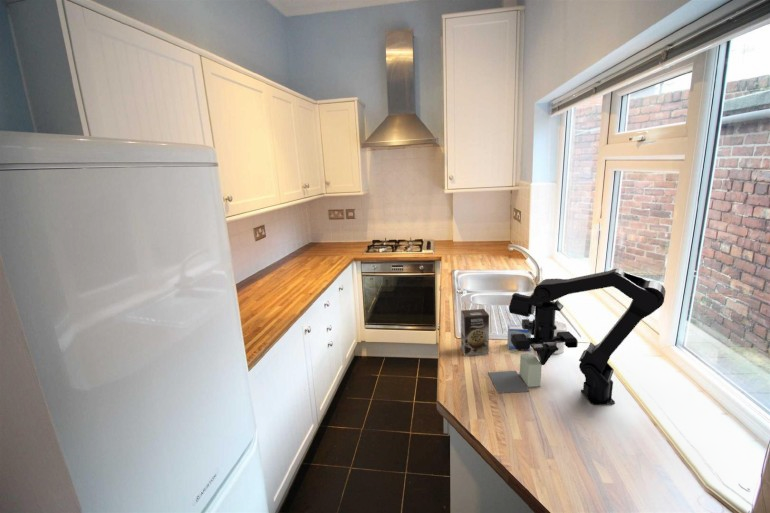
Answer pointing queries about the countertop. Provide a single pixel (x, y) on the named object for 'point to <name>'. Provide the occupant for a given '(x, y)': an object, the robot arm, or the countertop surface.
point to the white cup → (560, 328)
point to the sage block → (530, 370)
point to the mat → (507, 382)
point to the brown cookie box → (474, 332)
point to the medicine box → (516, 330)
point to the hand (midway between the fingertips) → (542, 364)
